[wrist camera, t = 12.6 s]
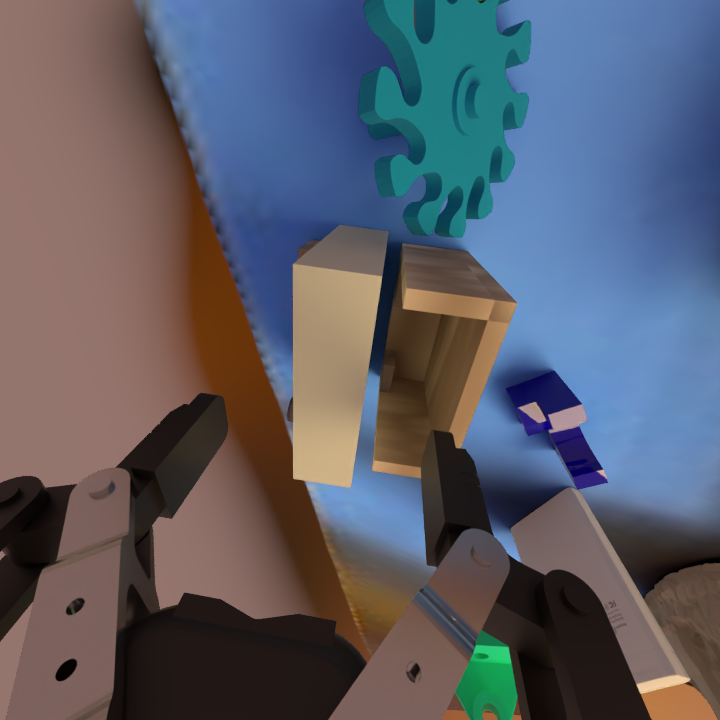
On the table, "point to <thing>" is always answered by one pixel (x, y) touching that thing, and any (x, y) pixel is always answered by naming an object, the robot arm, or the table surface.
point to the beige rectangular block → (333, 349)
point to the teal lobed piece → (444, 105)
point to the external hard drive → (599, 582)
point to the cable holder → (558, 425)
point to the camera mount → (488, 680)
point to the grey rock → (692, 624)
